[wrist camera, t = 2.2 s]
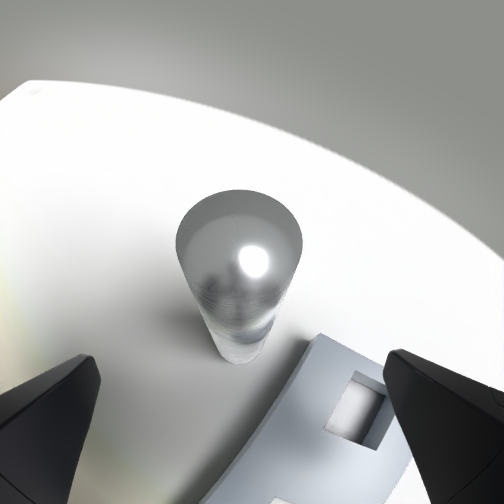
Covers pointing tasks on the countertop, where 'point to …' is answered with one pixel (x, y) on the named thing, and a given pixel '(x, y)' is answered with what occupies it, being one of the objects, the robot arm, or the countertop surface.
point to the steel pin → (239, 266)
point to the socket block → (317, 440)
